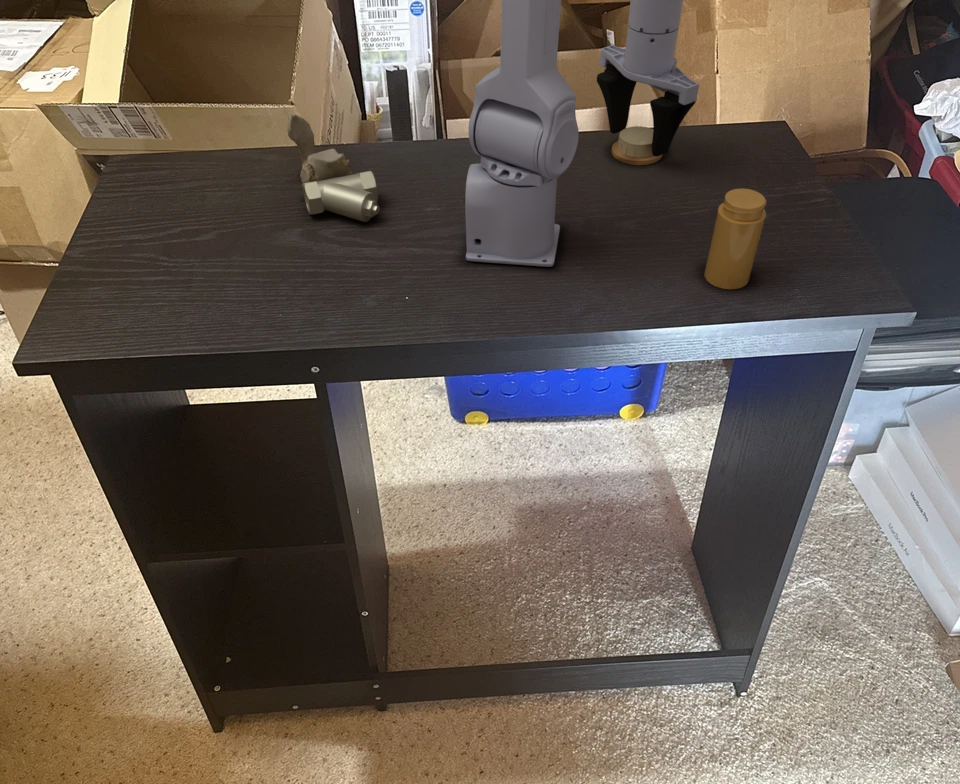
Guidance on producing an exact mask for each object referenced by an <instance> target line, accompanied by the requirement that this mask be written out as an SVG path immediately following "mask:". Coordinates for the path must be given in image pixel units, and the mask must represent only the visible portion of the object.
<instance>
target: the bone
mask: <svg viewBox="0 0 960 784" xmlns="http://www.w3.org/2000/svg"><path fill="white" fill-rule="evenodd" d="M286 131H287V136H288V138H289V139H290V140H291V141H292V142H294V143H295V144H296V147H297V151H298V154H299V157H300V159H301V163H302V165H301V166H302V167H301V171H300V176H299V177H300V181H301V183H307V182H312V181H322V180H327V179H333V178H338V177H343V176H349V175H353V172H352V170H351V163H350V160H349V159H346V157H345V154H344V153H338V151H337V150H336V149H335V148H329V149H325V150H322V151H319V152H316V147H315V146H316V145H315V134H314V131H313V130H312V127H311V124H310V123H309V122H308V121H307V120H305V118H304V117H301V116H299V115H297V114H295V113H291V114H289V115H288V122H287V129H286Z"/></svg>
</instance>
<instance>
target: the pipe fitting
mask: <svg viewBox="0 0 960 784" xmlns="http://www.w3.org/2000/svg"><path fill="white" fill-rule="evenodd" d="M301 183H302V182H301ZM377 187H378V186H377V182H376V178H375V176H374V173H373V171H372V170H366V171H362V172H361V171H360V172H357V173H354V174H352V175H349V176H343V177H338V178H333V179H327V180H322V181H312V182H307V183H302V184H301V188H302V193H303V197H304V202H305V206H306V210H307V212H308V214H309V215H317V214H321V213H324V212H330V213H333V214H337V215H340V216H343V217H346V218H350V219H353V220H356V221H360V222H363V223H367V222H369V221H370V220H371V219H372V218H374V217H375V216H376V215H379V213H380V210H381V209H380V206H379V205H378V201H379V193H378V188H377Z"/></svg>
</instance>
